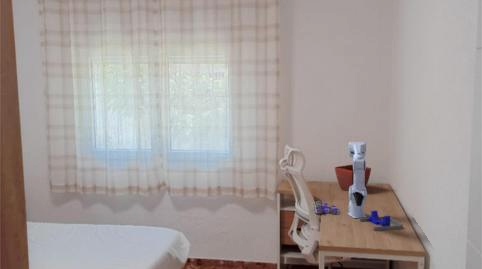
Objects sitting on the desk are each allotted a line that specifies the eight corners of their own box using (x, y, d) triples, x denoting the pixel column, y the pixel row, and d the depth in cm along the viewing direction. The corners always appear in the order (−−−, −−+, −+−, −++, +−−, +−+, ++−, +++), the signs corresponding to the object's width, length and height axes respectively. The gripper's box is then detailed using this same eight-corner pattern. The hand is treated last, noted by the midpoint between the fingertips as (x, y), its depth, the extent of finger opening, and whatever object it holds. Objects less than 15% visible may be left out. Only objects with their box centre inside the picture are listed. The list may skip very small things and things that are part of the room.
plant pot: (352, 194, 290) (352, 170, 288) (334, 189, 306) (334, 167, 305) (371, 190, 299) (371, 167, 298) (352, 185, 316) (352, 164, 314)
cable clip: (368, 221, 227) (368, 211, 227) (375, 220, 229) (375, 210, 228) (383, 228, 216) (383, 217, 216) (390, 227, 218) (390, 216, 217)
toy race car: (340, 215, 241) (340, 204, 240) (314, 214, 243) (314, 203, 243) (339, 210, 250) (339, 200, 250) (314, 210, 253) (314, 199, 252)
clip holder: (359, 220, 228) (359, 217, 228) (386, 218, 231) (386, 215, 231) (374, 230, 212) (374, 226, 212) (402, 228, 215) (402, 224, 215)
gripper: (346, 179, 227) (346, 202, 228) (358, 184, 213) (358, 209, 214) (358, 178, 228) (358, 202, 229) (370, 183, 214) (370, 208, 215)
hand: (358, 205), depth 222 cm, fingers closed
